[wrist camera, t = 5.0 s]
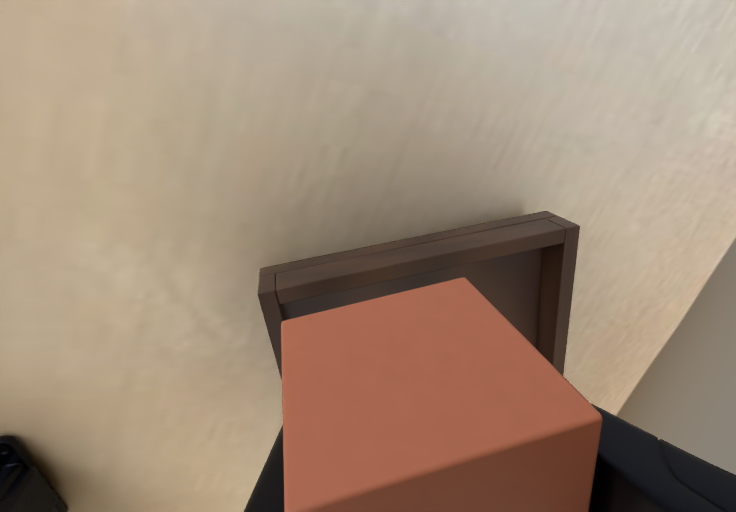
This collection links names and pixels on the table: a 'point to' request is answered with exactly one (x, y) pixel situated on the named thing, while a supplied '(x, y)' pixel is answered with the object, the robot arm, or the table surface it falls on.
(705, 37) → the table surface
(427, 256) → the tray
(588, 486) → the block
